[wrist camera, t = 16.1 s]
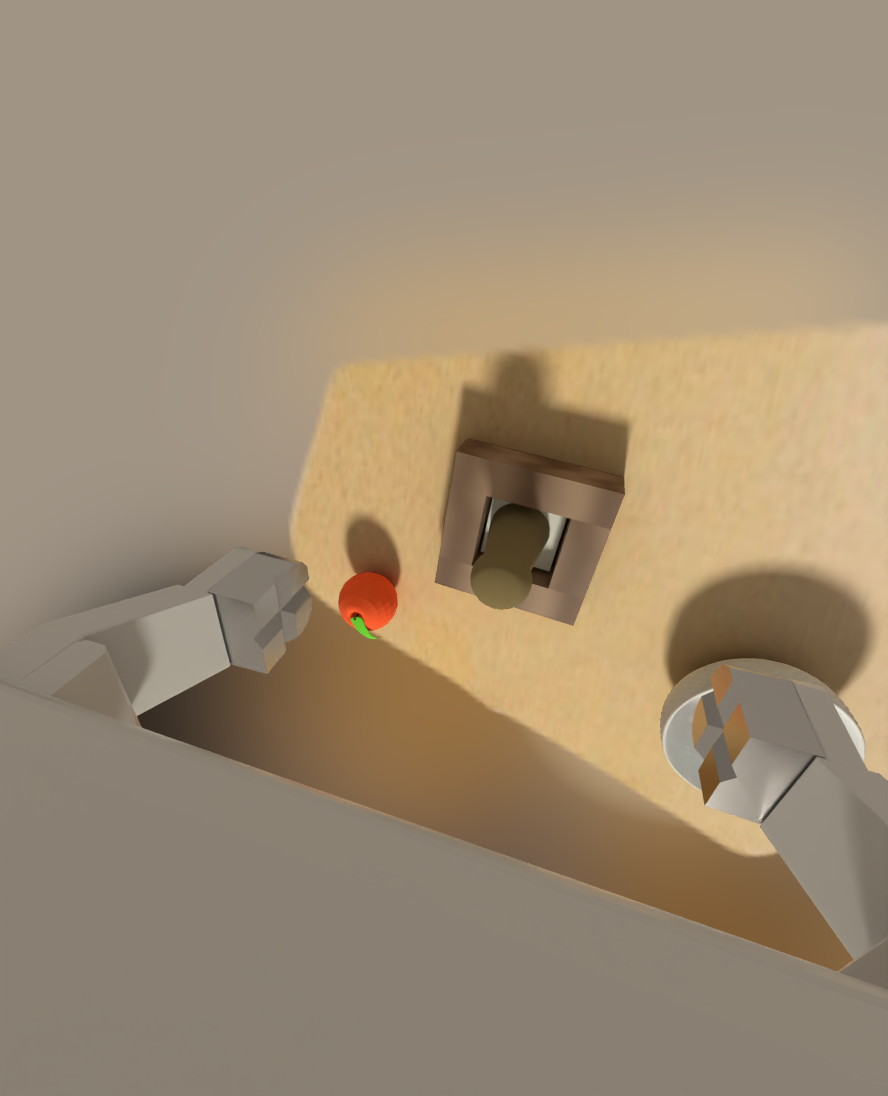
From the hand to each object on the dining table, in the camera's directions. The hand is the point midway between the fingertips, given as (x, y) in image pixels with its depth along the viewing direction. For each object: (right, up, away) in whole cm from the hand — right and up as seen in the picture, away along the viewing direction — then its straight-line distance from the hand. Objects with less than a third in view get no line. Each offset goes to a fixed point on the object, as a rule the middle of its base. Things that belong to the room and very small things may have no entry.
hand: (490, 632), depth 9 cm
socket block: (+7, +4, +39) cm, 40 cm away
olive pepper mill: (+7, +4, +38) cm, 39 cm away
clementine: (-9, -3, +50) cm, 50 cm away
